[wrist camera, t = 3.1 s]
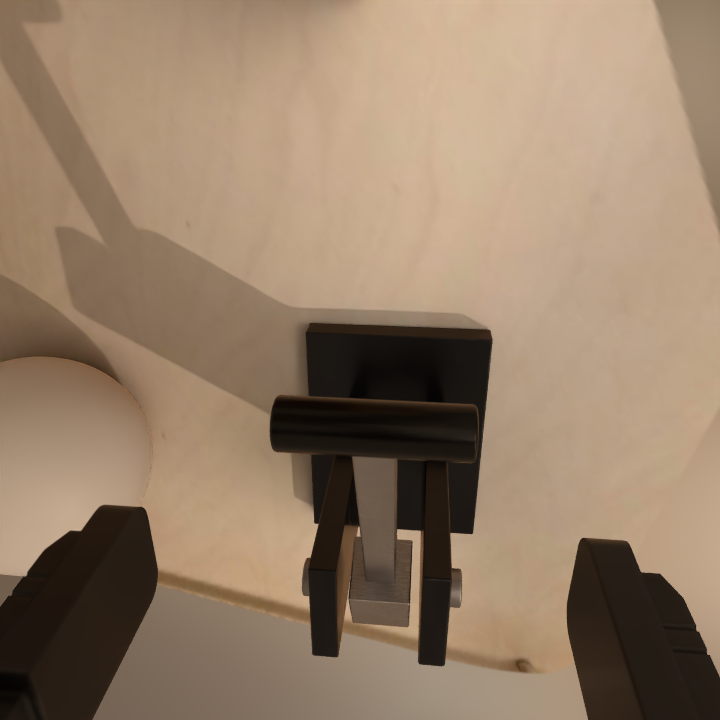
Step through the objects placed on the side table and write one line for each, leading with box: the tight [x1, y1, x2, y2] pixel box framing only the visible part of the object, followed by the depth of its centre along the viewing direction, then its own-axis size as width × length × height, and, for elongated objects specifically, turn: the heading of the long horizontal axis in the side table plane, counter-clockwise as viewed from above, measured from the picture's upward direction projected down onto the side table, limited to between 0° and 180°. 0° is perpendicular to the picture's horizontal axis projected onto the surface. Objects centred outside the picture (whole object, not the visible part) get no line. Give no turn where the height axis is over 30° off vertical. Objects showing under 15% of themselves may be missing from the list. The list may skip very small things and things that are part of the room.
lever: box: [270, 395, 479, 627], centre depth 20 cm, size 13×5×2 cm, turn 0°
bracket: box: [302, 323, 493, 666], centre depth 28 cm, size 12×9×13 cm
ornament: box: [0, 357, 153, 576], centre depth 30 cm, size 10×10×12 cm
